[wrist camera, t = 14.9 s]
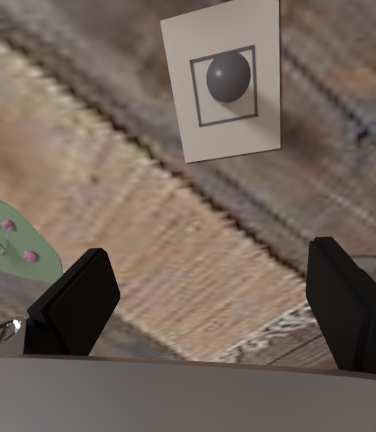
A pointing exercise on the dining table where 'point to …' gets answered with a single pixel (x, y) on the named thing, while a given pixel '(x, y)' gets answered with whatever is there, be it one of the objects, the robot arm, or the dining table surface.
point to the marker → (228, 77)
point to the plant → (25, 249)
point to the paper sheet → (197, 70)
